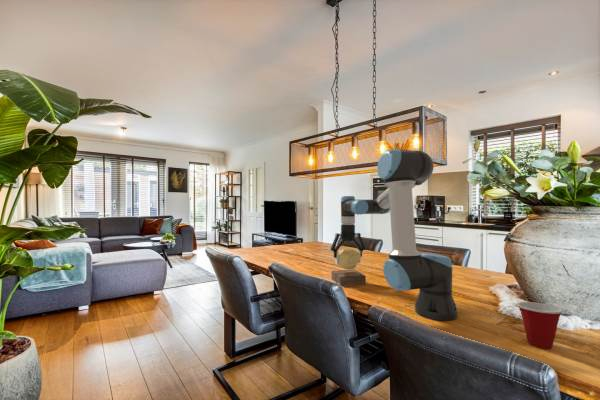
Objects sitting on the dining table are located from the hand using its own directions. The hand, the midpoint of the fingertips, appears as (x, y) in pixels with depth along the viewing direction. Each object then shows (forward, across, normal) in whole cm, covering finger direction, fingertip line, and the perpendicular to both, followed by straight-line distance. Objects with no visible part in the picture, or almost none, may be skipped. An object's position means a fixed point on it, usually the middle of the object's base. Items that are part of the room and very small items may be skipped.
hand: (347, 263), depth 155 cm
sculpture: (+3, 0, 0) cm, 3 cm away
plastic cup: (+10, -33, +76) cm, 84 cm away
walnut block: (+10, 0, 0) cm, 10 cm away
